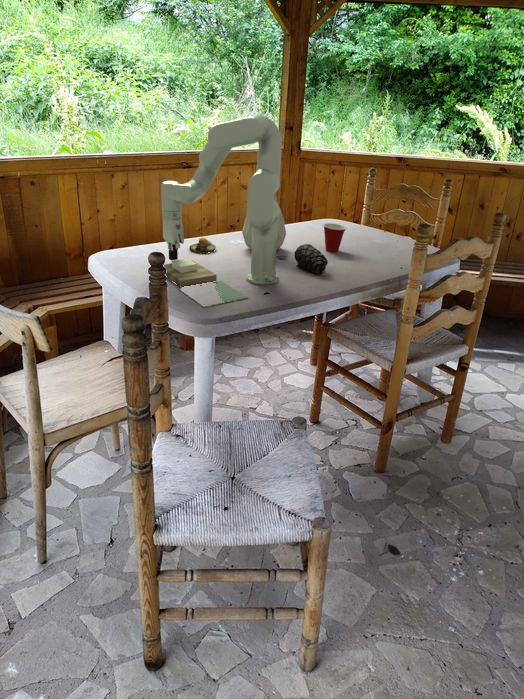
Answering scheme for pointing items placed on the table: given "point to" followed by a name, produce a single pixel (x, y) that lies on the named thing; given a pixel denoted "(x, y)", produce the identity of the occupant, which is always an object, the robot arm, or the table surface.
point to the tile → (184, 265)
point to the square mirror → (228, 292)
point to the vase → (280, 233)
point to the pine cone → (310, 259)
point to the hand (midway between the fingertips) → (173, 259)
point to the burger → (203, 246)
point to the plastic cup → (333, 236)
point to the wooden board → (190, 275)
